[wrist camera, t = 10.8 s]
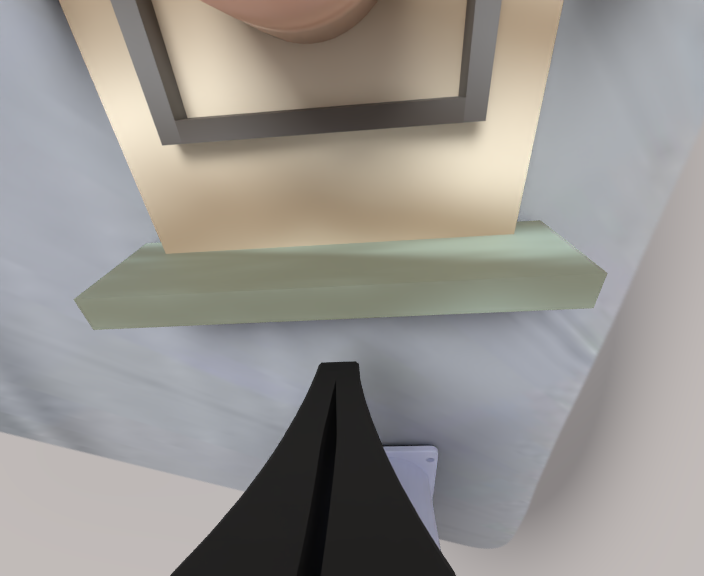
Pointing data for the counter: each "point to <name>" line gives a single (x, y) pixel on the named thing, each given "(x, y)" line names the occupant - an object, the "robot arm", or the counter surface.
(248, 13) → the peach rounded cylinder
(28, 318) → the counter surface
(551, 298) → the tray
